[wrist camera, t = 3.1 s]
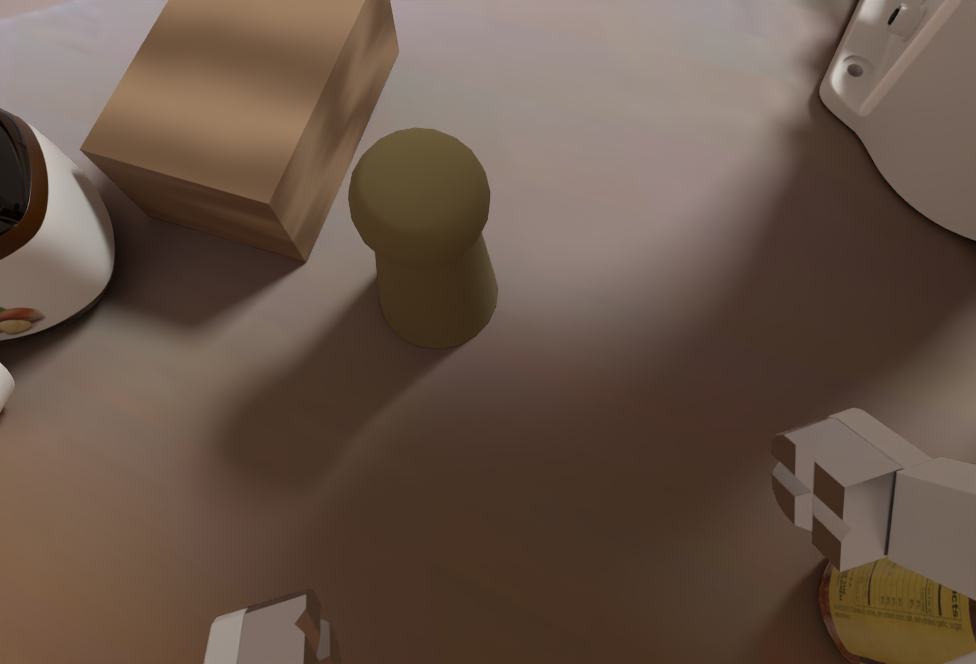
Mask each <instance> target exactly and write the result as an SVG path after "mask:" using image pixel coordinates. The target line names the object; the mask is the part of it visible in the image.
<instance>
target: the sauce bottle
mask: <svg viewBox="0 0 976 664" xmlns="http://www.w3.org/2000/svg"><path fill="white" fill-rule="evenodd" d="M887 558H888V557H885V558H882V559H879V560H875V561H872V562H869V563H866V564H863V565H860V566H857V567H854V568H851V569H848V570H845V571H842V572H839V571H838V570H837V569H836V568H835V567H834V565H833V564H832V563H831V562H830V561H829V563H828V564H827V566H826V568H825V571H824V573H823V576H822V578H821V585H820V587H819V590H818V602H819V606H820V609H821V613H822V618H823V621H824V622H825V624H826V627H827V629H828V632H829V634H830V636H831V638H832V639H833V640H834V642H835V644H836V646H837V648H838V649H839V650H840V652H841V654H842V656H843V657H845V658H846V659H847V660H848V661H849V662H850V663H852V664H943V663H946V662H949V661H951V660H954V659H956V658H959V657H962V656H964V655H967V654H969V653H972V652H975V651H976V600H973V599H971V598H969V597H967V596H965V595H963V594H961V593H958V592H956V591H954V590H952V589H950V588H948V587H946V586H943V585H941V584H939V583H937V582H935V581H933V580H931V579H928V578H926V577H924V576H922V575H920V574H918V573H916V572H913V571H911V570H909V569H907V568H905V567H903V566H901V565H898V564H896V563H894V562H892V561H890V560H888V559H887Z"/></svg>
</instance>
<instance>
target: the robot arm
mask: <svg viewBox="0 0 976 664" xmlns="http://www.w3.org/2000/svg"><path fill="white" fill-rule="evenodd" d="M849 73H850V74H852V75H853V76H852V75H850V74H849ZM854 76H855V77H854ZM819 94H820V97H821V100H822V101H823V103H824V104H825V105H826V107H827V108H828V109H829V110H830V111H831V112H832V113H833V114H834V115H836V116H837V117H838V118H839V119H840V120H841V121H842V122H844V123H845V124H846V125H847V126H848V127H850V128H851V129H852V130H853V131H855V132H856V134H857V135H858V136H859V138H860V139H861V141H862V142H863V144H864V145H865V147H866V149H867V151H868V152H869V154H870V156H871V158H872V160H873V161H874V163H875V165H876V166H877V168H878V170H879V171H880V173H881V174H882V175H883V177H884V178H885V179H886V180H887V182H888V183H889V184H890V185H891V186H892V188H893V189H894V190H895V191H896V192H897V193H898V194H899V195H900V196H901V197H902V198H903V199H904V200H905V201H907V202H908V203H909V204H910V205H911V206H912V207H914V208H915V209H916V210H917V211H919V212H920V213H922V214H923V215H924V216H926V217H927V218H929V219H931V220H932V221H934V222H935V223H937V224H939V225H941V226H942V227H944V228H946V229H948V230H950V231H952V232H955V233H957V234H959V235H962V236H964V237H967V238H970V239H972V240H975V241H976V0H859V2H858V5H857V7H856V9H855V11H854V13H853V15H852V18H851V20H850V22H849V24H848V26H847V28H846V31H845V33H844V35H843V37H842V39H841V41H840V44H839V46H838V48H837V50H836V52H835V54H834V57H833V59H832V61H831V63H830V65H829V68H828V70H827V72H826V74H825V76H824V78H823V81H822V83H821V85H820V89H819ZM771 454H772V455H774V456H775V457H776V458H777V459H778V460H779V462H778V464H777V466H776V467H775V469H774V470H773V472H772V489H773V492H774V494H775V497H776V500H777V502H778V504H779V506H780V508H781V509H782V511H783V512H784V514H785V515H786V516H787V517H788V518H789V519H790V520H791V522H792V523H793V524H794V525H796V526H799V527H801V528H804V529H807V530H809V531H812V544H813V545H814V546H815V547H816V548H817V549H818V550H819V551H820V552H821V553H822V554H823V555H824V556H825V557H826V558H827V559H828V560H829V561H830V562H831V563H832V564H833V565H834V567H835V568H836V569H837V570H838V571H839V572H842V571H845V570H848V569H851V568H854V567H857V566H860V565H863V564H866V563H869V562H872V561H875V560H879V559H882V558H885V557H888V558H887V559H888V560H890V561H892V562H894V563H896V564H898V565H901V566H903V567H905V568H907V569H909V570H911V571H913V572H916V573H918V574H920V575H922V576H924V577H926V578H928V579H931V580H933V581H935V582H937V583H939V584H941V585H943V586H946V587H948V588H950V589H952V590H954V591H956V592H958V593H961V594H963V595H965V596H967V597H969V598H971V599H973V600H976V465H975V464H971V463H966V462H962V461H958V460H954V459H950V458H946V457H942V456H941V457H938V458H935V459H933V458H931V457H930V456H928V455H927V454H926V453H924V452H923V451H921V450H920V449H918V448H917V447H915V446H914V445H913V444H911V443H910V442H908V441H907V440H905V439H904V438H903V437H901V436H900V435H898V434H897V433H895V432H894V431H892V430H891V429H890V428H888V427H887V426H885V425H884V424H882V423H881V422H879V421H878V420H877V419H875V418H874V417H872V416H871V415H869V414H868V413H866V412H865V411H864V410H861V409H858V408H851V409H848V410H845V411H842V412H839V413H836V414H833V415H830V416H828V417H827V418H822V419H819V420H816V421H813V422H811V423H808V424H805V425H802V426H799V427H796V428H793V429H790V430H787V431H784V432H781V433H778V434H775V435H774V438H773V440H772V449H771ZM203 664H341V658H340V652H339V646H338V643H337V640H336V637H335V634H334V631H333V629H332V627H331V625H330V623H329V622H328V621H325V620H323V619H321V618H320V602H319V600H318V598H317V596H316V594H315V592H314V590H313V589H305V590H302V591H299V592H295V593H292V594H289V595H286V596H282V597H279V598H276V599H272V600H269V601H266V602H262V603H259V604H256V605H253V606H249V607H248V608H246V609H242V610H239V611H235V612H232V613H229V614H225V615H222V616H218V617H216V619H215V620H214V622H213V624H212V625H211V628H210V633H209V638H208V643H207V648H206V653H205V658H204V663H203ZM943 664H976V651H975V652H972V653H969V654H967V655H964V656H962V657H959V658H956V659H954V660H951V661H949V662H946V663H943Z"/></svg>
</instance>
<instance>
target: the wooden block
mask: <svg viewBox="0 0 976 664" xmlns="http://www.w3.org/2000/svg"><path fill="white" fill-rule="evenodd" d="M398 53H399V48H398V42H397V36H396V31H395V25H394V20H393V14H392V9H391V3H390V0H168V2H167V4H166V5H165V7H164V9H163V10H162V12H161V14H160V15H159V17H158V19H157V20H156V22H155V24H154V25H153V27H152V29H151V30H150V32H149V34H148V35H147V37H146V39H145V41H144V42H143V44H142V46H141V47H140V49H139V51H138V52H137V54H136V56H135V57H134V59H133V61H132V62H131V64H130V66H129V67H128V69H127V71H126V72H125V74H124V76H123V78H122V79H121V81H120V83H119V84H118V86H117V88H116V89H115V91H114V93H113V94H112V96H111V98H110V99H109V101H108V103H107V104H106V106H105V108H104V109H103V111H102V113H101V115H100V116H99V118H98V120H97V121H96V123H95V125H94V126H93V128H92V130H91V131H90V133H89V135H88V136H87V138H86V140H85V141H84V143H83V145H82V146H81V148H80V150H81V151H82V152H83V153H84V154H85V155H86V156H87V157H88V158H89V159H90V160H91V161H92V162H93V163H94V164H95V165H96V166H97V167H98V168H99V169H100V170H101V171H102V172H104V173H105V174H106V175H107V176H108V177H109V178H110V179H111V180H112V181H113V182H114V183H115V184H116V185H117V186H118V187H119V188H120V189H121V190H122V191H123V192H124V193H125V194H126V195H127V196H128V197H129V198H130V199H131V200H133V201H134V202H135V203H136V204H137V205H138V206H139V207H140V208H141V209H142V210H143V211H144V212H145V213H146V214H147V215H148V216H151V217H154V218H158V219H161V220H165V221H168V222H171V223H175V224H178V225H181V226H185V227H188V228H192V229H195V230H198V231H202V232H205V233H209V234H212V235H215V236H219V237H222V238H225V239H229V240H232V241H236V242H239V243H242V244H246V245H249V246H252V247H256V248H259V249H263V250H266V251H269V252H273V253H276V254H279V255H283V256H286V257H290V258H293V259H296V260H300V261H303V262H307V260H308V258H309V255H310V253H311V251H312V249H313V246H314V244H315V242H316V240H317V237H318V235H319V233H320V230H321V228H322V226H323V224H324V221H325V219H326V217H327V214H328V212H329V210H330V208H331V205H332V203H333V201H334V199H335V196H336V194H337V192H338V189H339V187H340V185H341V183H342V180H343V178H344V176H345V173H346V171H347V169H348V167H349V164H350V162H351V160H352V158H353V155H354V153H355V151H356V148H357V146H358V144H359V142H360V139H361V137H362V135H363V132H364V130H365V128H366V126H367V123H368V121H369V119H370V117H371V114H372V112H373V110H374V107H375V105H376V103H377V101H378V98H379V96H380V94H381V91H382V89H383V87H384V85H385V82H386V80H387V78H388V76H389V73H390V71H391V69H392V66H393V64H394V62H395V60H396V57H397V55H398Z"/></svg>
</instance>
